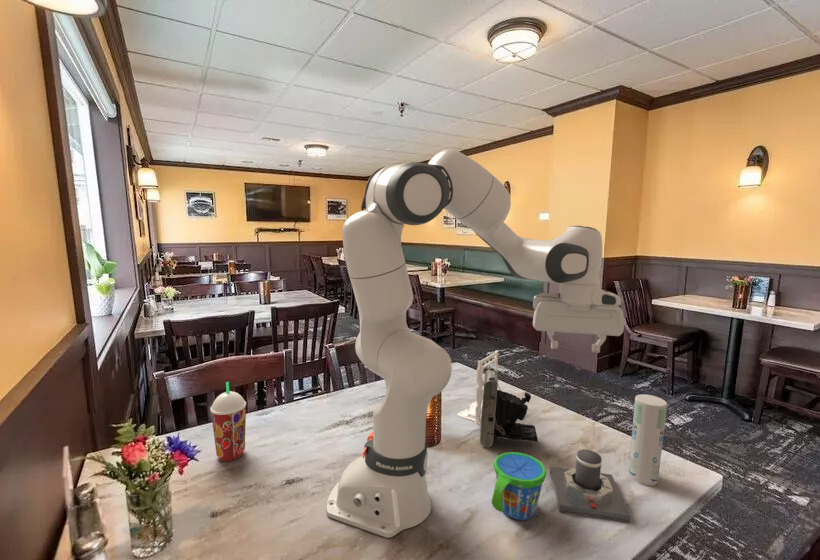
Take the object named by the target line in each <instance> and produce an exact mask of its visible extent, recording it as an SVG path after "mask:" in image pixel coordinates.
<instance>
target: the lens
mask: <svg viewBox="0 0 820 560" xmlns="http://www.w3.org/2000/svg"><path fill="white" fill-rule="evenodd" d="M576 452H577V453H576V463H575V467H576V474H575V483H576V484H577V485H579V486H580V487H582V488H584V489H587V490H595V491H599V482H600V473H601V471H602V469H601V468H602V461H603V460H602V456H601V455H600V454H598V453H597V452H595V451H593V450H590V449H579V450H578V451H576Z"/></svg>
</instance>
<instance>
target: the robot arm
mask: <svg viewBox="0 0 820 560" xmlns="http://www.w3.org/2000/svg"><path fill="white" fill-rule="evenodd" d="M363 195H364V196H363V200H362V202H361V207H360V208H361V210H360V211H357V212H355V213H354V214H352V215H351V216H349V217H348V218H347V219H346V220H345V221H344V223H343V225H342V229H341V235H342V245H343V253H344V259H345V264H346V269H347V273H348V276H349V280H350V284H351V288H352V290H353V294H354V298H355V302H356V306H357V310H358V314H359V315H358V317H359V333H358V334H357V337H356V339H355V342H354V343H355V346H354V347H355V350H354V351H355V353H356V355H357V357H358V359H359V360H360V361H361V363H362V364H363V365H364V366H365V367H366V368H367V369H368V370H369V371H371V372H372V373H374V374H376V375H377V376H379V377H380V378H382V379H383V380H384V382H385V387H386V388H385V395H384V397H383V399H381V400H380V401H379V402H378V403H377V404H376V405H375V407H374V409H373V412H372V413H373V414H372V431H371V432H369V435H368V437H367V439H366V440H367V441H366V442H365V445H364V446H363V447H364V448H363V450H362V453H361V454H362V455H360V456H359V457H357V458H356V459H354V460H353V461H351V462H350V463H349V464H348V465H347V466H346V468H345V470H344V471H343V473H342V474H341V477H340V480H338V482H337V483H336V484H335V485H334V487H333V488H332V490H331V492H330V494H329V496H328V497H327V501H326V507H325V512H326V516H327V517H329V518H331V519H333V520H336V521H338V522H341V523H344V524H347V525H350V526H353V527H355V528H358V529H361V530H363V531H366V532H370V533H373V534H375V535H378V536H382V537H383V538H387V539H389V538H393V537H394V536H396V535H397V534H399V533H400V532H401V531H404V530H406V529H410V528H413V527H416V526H418V525H419V524H422V522H424V521H425V520H426V519H427V517H429V515H430V513H431V510H432V500H431V497H430V494H429V490H428V484H427V475H426V472H427V470H428V469H427V468H428V447H427V446H428V444H427V441H426V425H427V424H426V423H427V412H428V407H429V405H430V403H431V401H432V399H433V397H435V396H437V395H439V394H440V393H441V392H442V391H444V389H445V388H446V386H447V385H448V383H449V381H450V379H451V376H452V369H453V366H452V365H453V362H452V359H451V356H450V355H449V353H448V352H447V351H446V350H445V349H444V348H442V346H440V345H439V344H438V343H436V342H435V341H434V340H432V339H431V338H427V337H426V336H422V335H419V334H417V333H414V332H412V331H411V330H410V328H409V327H408V323H407V311H408V309H409V308H410V307H411V305H412V304H413V302H414V294H413V293H414V292H413V289H412V285H411V279H410V275H409V272H408V267H407V264H406V259H405V255H404V252H403V249H402V233H403V229H404V227H405V225H407V226H420V225H424V224H427V223H429V222H431V221H433V220H434V219H436V218H437V216H439V215H440V213H441V212H442V211H443V210H446V212H448V213H449V214H450V215H452V216H453V217H454V218H455V219H456V220H457V221H459V222H460V223H461V224H463V225H464V226H466V228H468V229H469V230H470V229H471V230H472V231H473V233H475V234H476V236H478V237H479V239H481V240H482V241H483V242H484V243H485V244H486V245H488V246H489V248H490V249H492V250H493V251H495V253H497V254H498V255H499V257H500V258H501V259H502V261H503V262H504V264H505V266H506V269H507V270H508V271H509V273H510V274H511V275H512V276H514V277H515V278H518V279H521V280H522V279H524V280H533V281H539V282H543V283H545V282H546V283H551V284H559V288H558V289H559V290H558V291H559V292H555V293H553V292H552V293H550V292H548V293H546V292H540V293H539V294H537V295H535V296H534V297H533V299H532V308H533V309H534V312H533V319H532V327H533V328H534V329H535V330H536V331H538V332H546V334H547V336H548V338H549V340H550V348H551V350H559V342H558V340H554V336H555V333H556V332H557V333H568V334H570V333H571V334H582V335H595V336H596V335H597V337H598V339H597V341H596V342H595V343H591V352H592V353H597V354H599V353H601V346H602V345H603V344H604V342H606V339H607V336H611V337H613V336H614V337H620V336H621V335H622V334H623V333H624V329H625V319H624V311H623V309H622V308H621V306H620V305H621V304H622V298H621V297H620V296H619V295H617V294H616V293H613V292H611V291H608V290H605V289H601V280H600V271H601V268H602V264H603V239H602V233H601V232H600V231H599V230H598V229H596V228H595V227H592V226H591V227H590V226H584V225H583V226H582V225H570V226H568V227H567V228H566V230H565V231H564V232H563V233H562V234H560V235H558V236H557V237H555V238H551V240H548V239H547V240H546V239H545V240H544V239H533V238H532V239H531V238H525V237H522V236H519V235H518V234H516V233H515V232H514V230H513V229H511V227H509V226H508V225H507V224H506V223H505V220H506V218H507V217H508V215H509V213H510V209H511V203H512V202H511V201H512V198H511V194H510V192H509V191H508V189H507V188H506V187H505V185H504V184H503V183H502V182H501V181H500V180H499V179H498V178H497V177H496V176H494V174H492V173H491V172H490V171H489V170H488V169H486V168H485V167H484V166H483V165H481V164H480V163H478V162H477V161H475V160H474V159H472V158H470V157H469V156H468V155H466V154H464V153H463V152H461V151H459V150H456V149H453V148H446V149H443V150H441V151H439V152H437V153H436V154H435V155H433V157H431V159H430V160H429V161H428V163H425V162H415V161H414V162H409V163H408V162H395V163H392V164H389V165H386V166H385V165H384V166H382V167H380V168H378V169H377V170H375V172H373V173H372V174H371V175H370V177H369V178H368V180H367V183H366V186H365V190H364V194H363Z"/></svg>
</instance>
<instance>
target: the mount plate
mask: <svg viewBox="0 0 820 560" xmlns="http://www.w3.org/2000/svg"><path fill="white" fill-rule="evenodd" d="M549 470H550V473H549V474H550V477H551V481H552V486H553V492H554V495H555V499H556V503H557V508H558V511H559V512H562V513H568V514H574V515H580V516H586V517H587V516H588V517H594V518H599V519H607V520H612V521H619V522H620V521H621V522H624V523H625V522H626V523H631V519H632V515H631V512H630V510H629V509H628V506H627V504H626V502H625V500H624V497H623V496H622V494H621V491H620V489H619V487H618V485H617V483H616V481H615V478H614V477H613V475H612V474H611V473H610V474H609V473H603V472H602V473H601V472H600V482H599V491H595V490H587V489H584V488H582V487H580V486H579V485H577V484H576V483H575V474H576V466H574V467H572V468H565V467H557V466H550V469H549Z"/></svg>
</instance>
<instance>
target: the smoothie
mask: <svg viewBox="0 0 820 560" xmlns="http://www.w3.org/2000/svg"><path fill="white" fill-rule="evenodd" d="M229 383H230V382H229V381H226V382H225V388H226V389H225V391H224V392H222V393H220V394H219V395H218V396H217V397H216V398H215V400H214V401H213V403H212V405H211V406H210V408H209V409H210V415H211V423H212V430H213V437H214V444H215V445H214V446H215V451H216V452H215V453H216V456H217V457H218V458H219V460H220V461H223V462H231V461H235V460H237V459H239V458H240V457H242V456H243V453H244V451H245V449H246V423H247V422H246V419H247V417H246V415H247V401H245V399H244V398H243V396H242V395H241V394H239V393H238V392H236V391H231V390H230V385H229Z"/></svg>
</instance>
